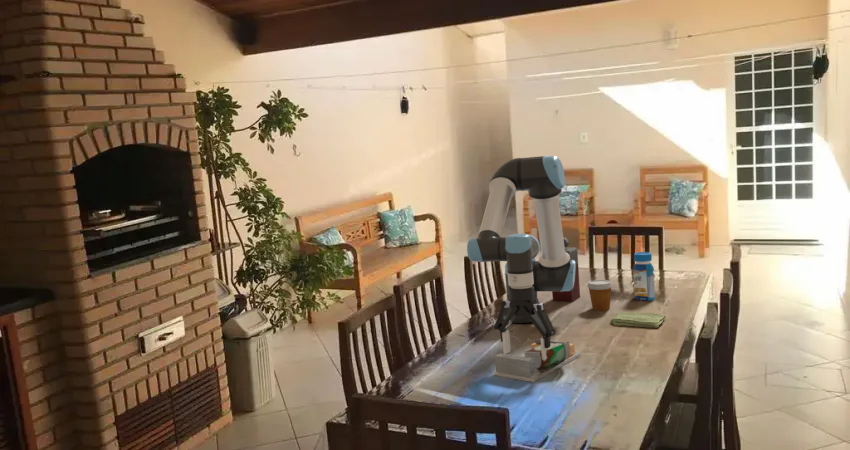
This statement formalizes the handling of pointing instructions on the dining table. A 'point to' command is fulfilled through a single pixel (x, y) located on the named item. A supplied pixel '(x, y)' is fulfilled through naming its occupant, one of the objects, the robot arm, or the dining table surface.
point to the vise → (525, 367)
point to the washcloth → (638, 319)
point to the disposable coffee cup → (600, 294)
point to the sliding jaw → (538, 342)
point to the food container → (549, 354)
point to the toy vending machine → (575, 292)
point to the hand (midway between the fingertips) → (525, 355)
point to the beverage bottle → (643, 277)
